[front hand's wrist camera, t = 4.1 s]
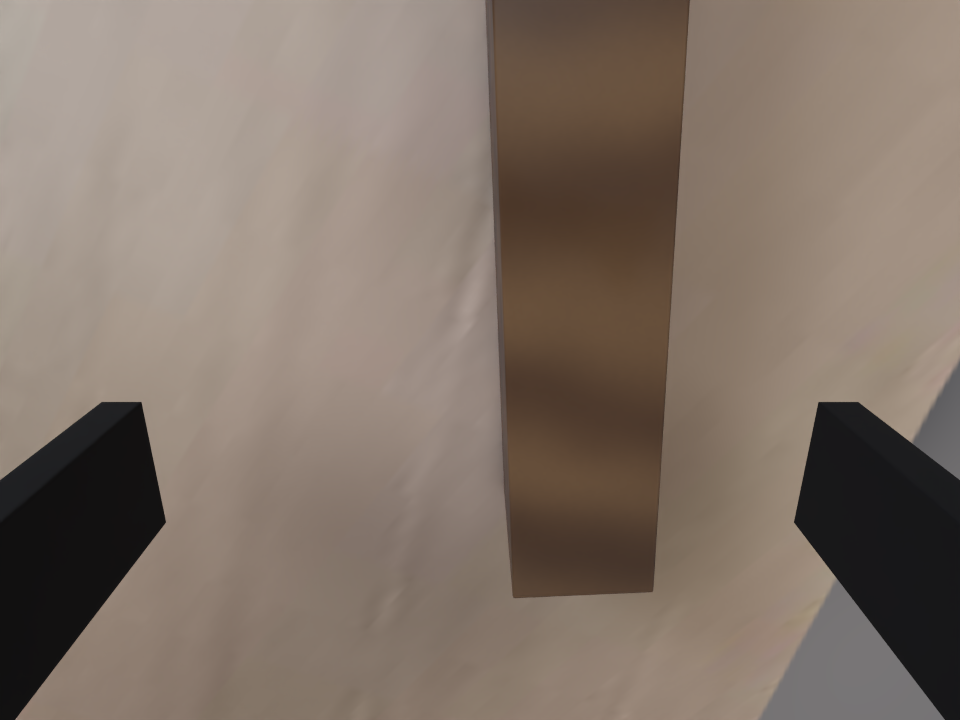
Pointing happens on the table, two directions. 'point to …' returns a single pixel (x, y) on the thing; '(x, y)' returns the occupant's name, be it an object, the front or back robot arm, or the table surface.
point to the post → (584, 279)
